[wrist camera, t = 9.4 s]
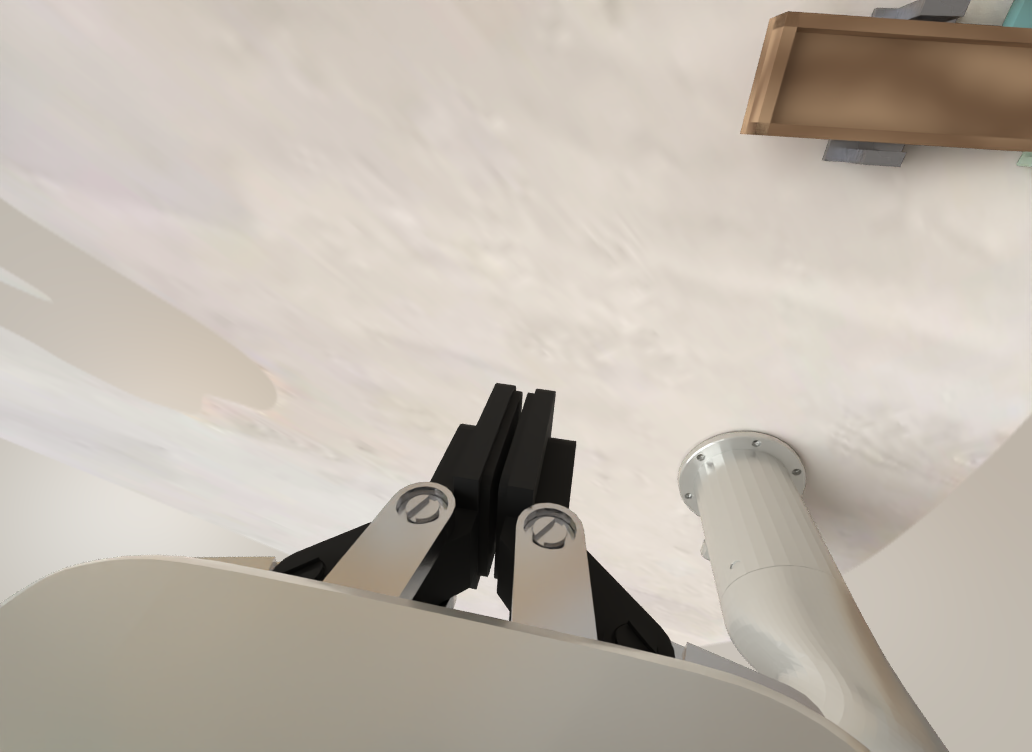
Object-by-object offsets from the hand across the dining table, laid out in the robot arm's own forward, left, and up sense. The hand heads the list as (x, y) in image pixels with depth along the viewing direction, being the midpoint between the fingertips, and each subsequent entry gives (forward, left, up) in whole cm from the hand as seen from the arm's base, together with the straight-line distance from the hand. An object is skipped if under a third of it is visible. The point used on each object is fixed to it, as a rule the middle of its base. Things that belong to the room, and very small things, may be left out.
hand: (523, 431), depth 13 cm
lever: (+13, -20, -30) cm, 38 cm away
